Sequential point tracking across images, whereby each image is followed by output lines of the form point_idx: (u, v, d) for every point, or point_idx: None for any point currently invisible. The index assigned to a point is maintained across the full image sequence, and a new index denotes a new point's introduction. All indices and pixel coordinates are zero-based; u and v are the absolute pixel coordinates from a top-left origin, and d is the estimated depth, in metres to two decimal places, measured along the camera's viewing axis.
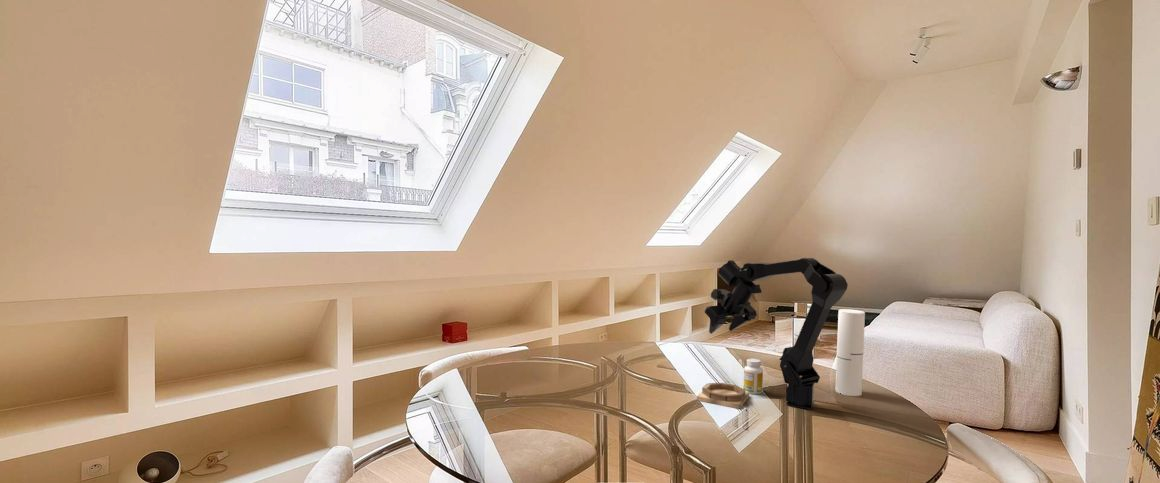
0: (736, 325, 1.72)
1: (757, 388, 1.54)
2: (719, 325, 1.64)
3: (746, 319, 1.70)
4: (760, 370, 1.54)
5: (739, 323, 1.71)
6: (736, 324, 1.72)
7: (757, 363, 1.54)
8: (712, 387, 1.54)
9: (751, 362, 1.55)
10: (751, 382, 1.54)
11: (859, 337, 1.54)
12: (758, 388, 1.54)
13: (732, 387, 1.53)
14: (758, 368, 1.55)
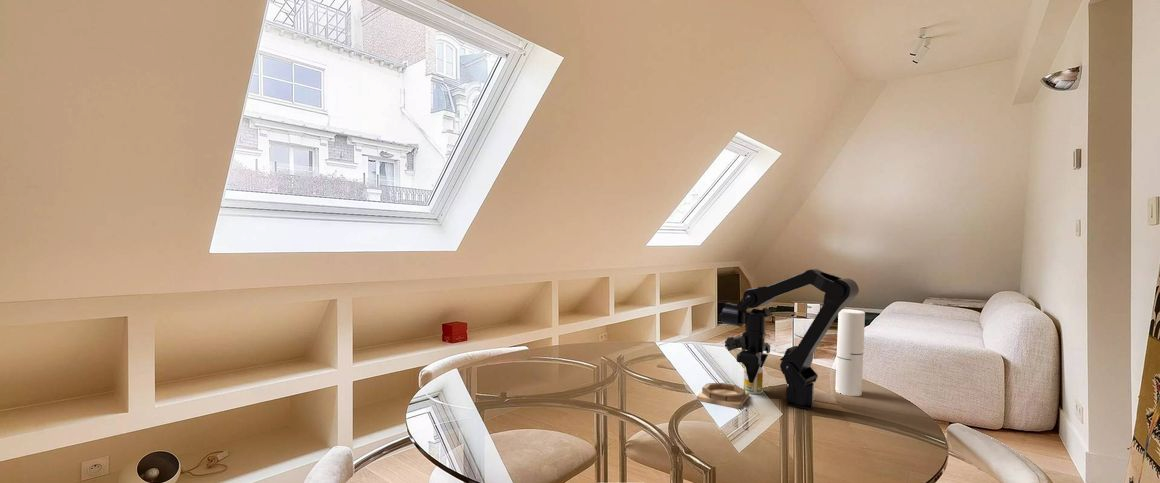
0: None
1: (757, 388, 1.54)
2: (760, 365, 1.51)
3: (765, 355, 1.59)
4: (760, 370, 1.54)
5: (761, 363, 1.58)
6: None
7: None
8: (712, 387, 1.54)
9: None
10: None
11: (859, 337, 1.54)
12: (758, 388, 1.54)
13: (732, 387, 1.53)
14: None
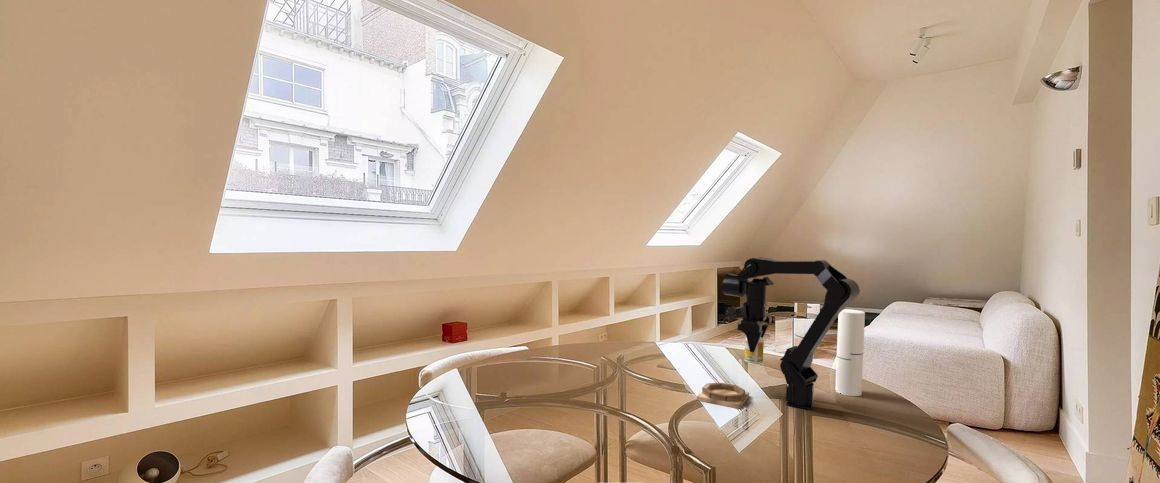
0: None
1: (758, 357, 1.54)
2: (760, 334, 1.51)
3: (766, 326, 1.58)
4: (761, 339, 1.54)
5: (762, 334, 1.58)
6: None
7: None
8: (712, 387, 1.54)
9: None
10: (751, 352, 1.54)
11: (859, 337, 1.54)
12: (759, 358, 1.54)
13: (732, 387, 1.53)
14: None
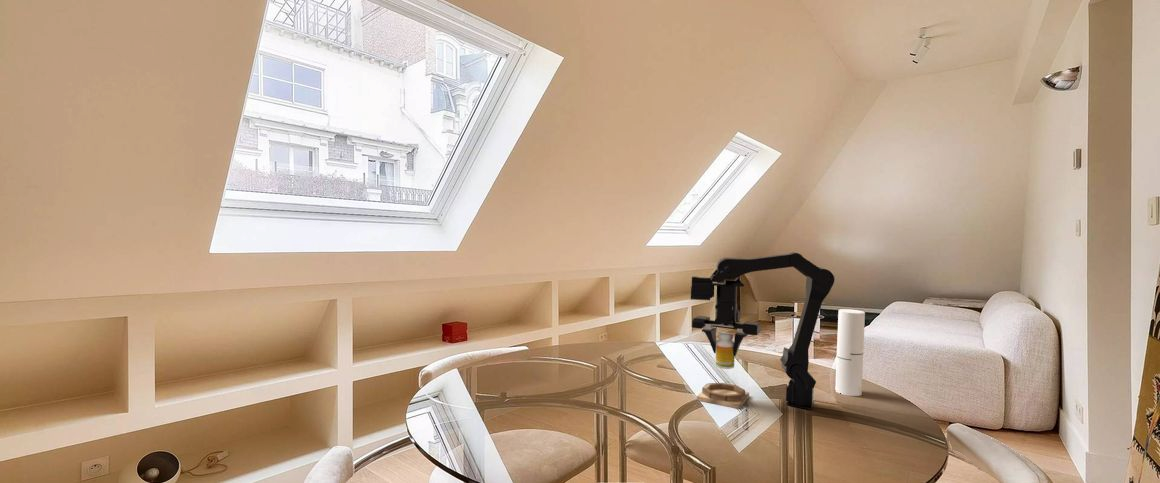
0: None
1: (716, 360, 1.49)
2: (707, 333, 1.49)
3: (737, 334, 1.45)
4: (719, 343, 1.48)
5: None
6: None
7: (719, 335, 1.49)
8: (712, 387, 1.54)
9: (719, 333, 1.51)
10: None
11: (859, 337, 1.54)
12: (716, 361, 1.49)
13: (732, 387, 1.53)
14: (720, 341, 1.49)
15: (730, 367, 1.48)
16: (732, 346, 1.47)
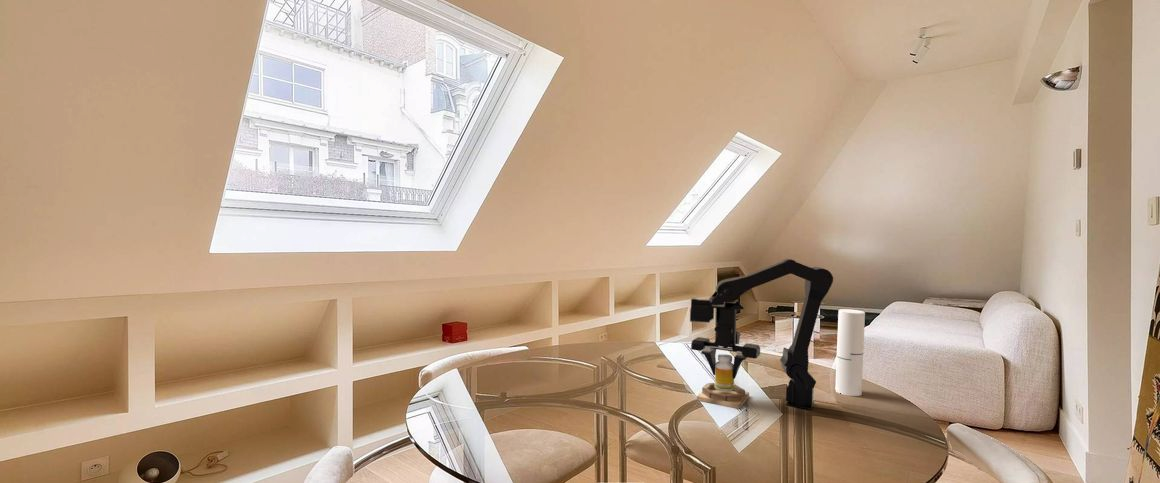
0: None
1: (715, 382, 1.50)
2: (706, 356, 1.50)
3: (737, 357, 1.45)
4: (719, 365, 1.49)
5: None
6: None
7: (718, 357, 1.49)
8: (712, 387, 1.54)
9: None
10: None
11: (859, 337, 1.54)
12: (716, 383, 1.49)
13: None
14: (719, 363, 1.49)
15: (729, 389, 1.48)
16: (731, 368, 1.48)
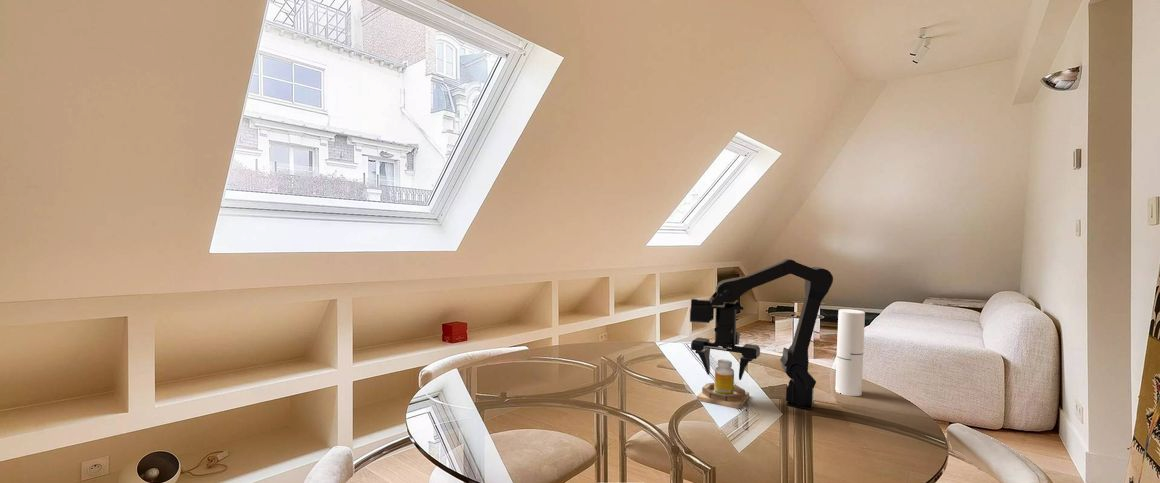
0: None
1: (715, 388, 1.50)
2: (700, 355, 1.51)
3: (743, 358, 1.45)
4: (718, 371, 1.49)
5: None
6: None
7: (718, 363, 1.49)
8: (712, 387, 1.54)
9: (718, 361, 1.51)
10: None
11: (859, 337, 1.54)
12: (715, 388, 1.49)
13: None
14: (719, 368, 1.49)
15: None
16: (731, 374, 1.48)
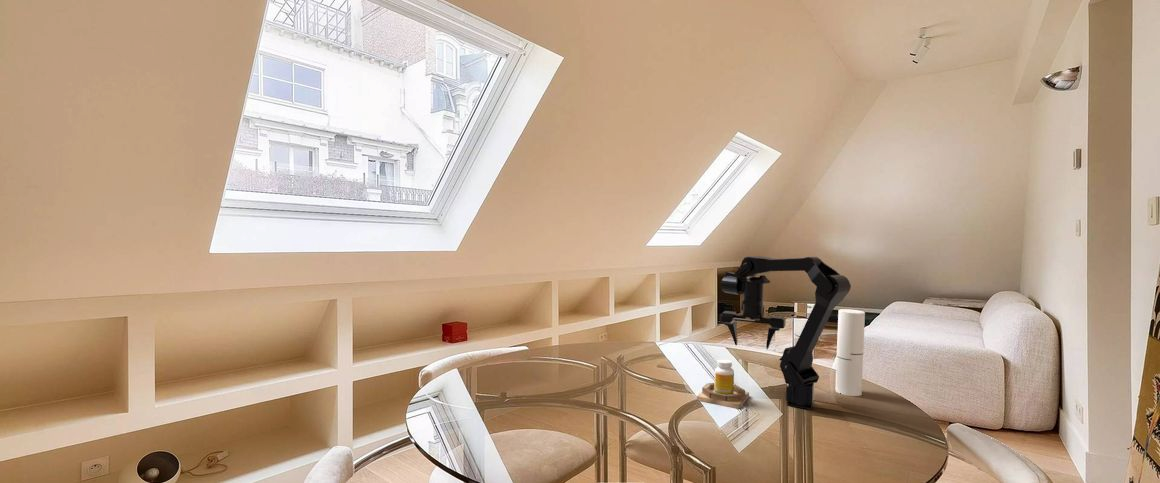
0: (767, 339, 1.56)
1: (715, 388, 1.50)
2: (729, 327, 1.59)
3: (771, 328, 1.54)
4: (718, 371, 1.49)
5: None
6: None
7: (718, 363, 1.49)
8: (712, 387, 1.54)
9: (718, 361, 1.51)
10: None
11: (859, 337, 1.54)
12: (715, 388, 1.49)
13: None
14: (719, 368, 1.49)
15: None
16: (731, 374, 1.48)
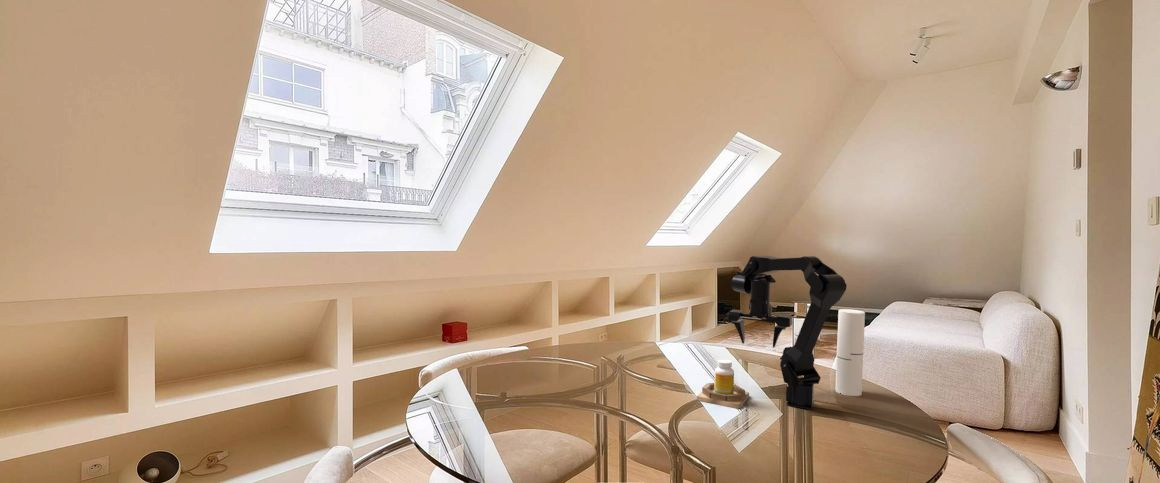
0: None
1: (715, 388, 1.50)
2: (736, 325, 1.62)
3: (777, 327, 1.56)
4: (718, 371, 1.49)
5: (774, 333, 1.57)
6: (774, 337, 1.58)
7: (718, 363, 1.49)
8: (712, 387, 1.54)
9: (718, 361, 1.51)
10: None
11: (859, 337, 1.54)
12: (715, 388, 1.49)
13: None
14: (719, 368, 1.49)
15: None
16: (731, 374, 1.48)
